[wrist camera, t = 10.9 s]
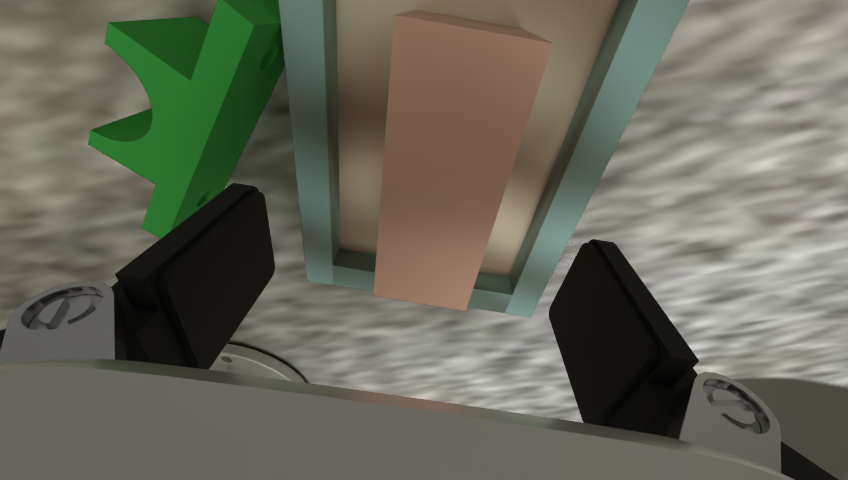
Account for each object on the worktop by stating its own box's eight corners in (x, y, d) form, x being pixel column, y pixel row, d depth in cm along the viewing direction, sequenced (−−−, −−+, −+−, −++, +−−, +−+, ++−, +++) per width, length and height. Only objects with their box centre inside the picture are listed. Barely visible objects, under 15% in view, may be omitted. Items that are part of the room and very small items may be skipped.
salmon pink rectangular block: (522, 28, 12) (553, 43, 8) (464, 242, 18) (465, 311, 14) (416, 9, 12) (394, 14, 8) (392, 229, 18) (373, 295, 14)
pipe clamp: (223, -57, 13) (125, -82, 9) (310, 18, 14) (255, 24, 10) (154, 156, 18) (76, 195, 14) (221, 196, 19) (164, 243, 16)
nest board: (523, 286, 21) (530, 317, 19) (321, 253, 21) (307, 280, 19) (686, -77, 11) (736, -94, 9) (297, -146, 11) (260, -178, 9)
